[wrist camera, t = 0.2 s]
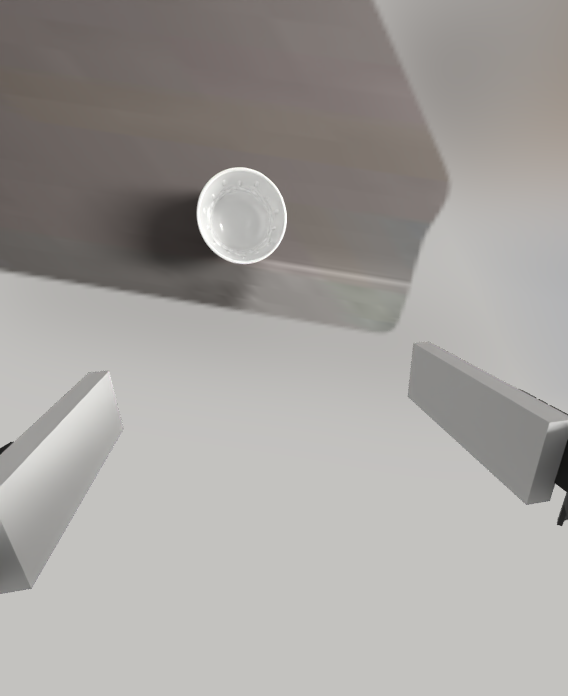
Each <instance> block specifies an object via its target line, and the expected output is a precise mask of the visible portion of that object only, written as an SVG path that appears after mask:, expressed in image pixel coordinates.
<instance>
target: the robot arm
mask: <svg viewBox="0 0 568 696" xmlns="http://www.w3.org/2000/svg"><path fill="white" fill-rule="evenodd" d="M408 397H409V398H410V399H411V400H412V401H413V402H414V403H415V404H416V405H418V406H419V407H420V408H421V409H422V410H423V411H424V412H425V413H426V414H427V415H429V417H431V418H432V419H433V420H434V421H435V422H436V423H437V424H438V425H439V426H440V427H442V428H443V429H444V430H445V431H446V432H447V433H448V434H449V435H450V436H452V437H453V438H454V439H455V440H456V441H457V442H458V443H459V444H460V445H461V446H462V447H464V448H465V449H466V450H467V451H468V452H469V453H470V454H471V455H472V456H473V457H474V458H476V459H477V460H478V461H479V462H480V463H481V464H482V465H483V466H484V467H485V468H487V469H488V470H489V471H490V472H491V473H492V474H493V475H494V476H495V477H497V478H498V479H499V480H500V481H501V482H502V483H503V484H504V485H505V486H506V487H507V488H509V489H510V490H511V491H512V492H513V493H514V494H515V495H516V496H517V497H518V498H519V499H521V500H522V501H523V502H524V503H525V504H526V505H528V504H534V503H540V502H546V501H550V498H551V495H552V492H553V489H554V485H555V483H556V484H557V485H558V486H560V487H561V488H562V489H563V490H565V491H566V492H567V493H566V496H565V499H564V502H563V505H562V508H561V511H560V514H559V517H558V522H557V525H560V526H562V525H563V522H564V521H565V520H567V519H568V414H566V413H565V412H562V411H561V410H559V409H557V408H555V407H553V406H551V405H548V404H547V403H546V402H544V401H542V400H540V399H536V397H534V396H532V395H530V394H528V393H527V392H525V391H523V390H520V389H517V388H515V387H513V386H512V385H510V384H508V383H506V382H504V381H502V380H500V379H498V378H496V377H495V376H493V375H491V374H489V373H487V372H485V371H483V370H481V369H480V368H478V367H476V366H474V365H472V364H470V363H468V362H466V361H465V360H463V359H461V358H459V357H457V356H455V355H453V354H451V353H449V352H448V351H446V350H444V349H442V348H440V347H438V346H436V345H434V344H432V343H431V342H419V343H414V344H413V351H412V361H411V371H410V380H409V390H408ZM122 431H123V425H122V421H121V417H120V413H119V409H118V405H117V401H116V397H115V393H114V388H113V385H112V380H111V376H110V372H109V371H101V372H90V373H88V374H87V375H86V376H85V377H84V378H83V379H82V380H81V381H79V382H78V383H77V384H76V385H75V386H74V387H73V388H72V389H71V390H70V391H68V392H67V393H66V394H65V395H64V396H63V397H62V398H61V399H60V400H59V401H58V402H57V403H56V404H55V405H54V406H52V407H51V408H50V409H49V410H48V411H47V412H46V413H45V414H44V415H43V416H42V417H41V418H39V419H38V420H37V421H36V422H35V423H34V424H33V425H32V426H31V427H30V428H29V429H28V430H26V431H25V432H24V433H23V434H22V435H21V436H20V437H19V438H18V439H17V440H16V441H15V442H10V443H9V444H7V445H5V446H4V447H2V448H0V594H2V593H8V592H14V591H20V590H26V589H32V587H33V585H34V583H35V582H36V580H37V578H38V576H39V575H40V573H41V571H42V569H43V568H44V566H45V564H46V562H47V561H48V559H49V557H50V556H51V554H52V552H53V550H54V549H55V547H56V545H57V543H58V542H59V540H60V538H61V537H62V535H63V533H64V531H65V530H66V528H67V526H68V524H69V523H70V521H71V519H72V518H73V516H74V514H75V512H76V511H77V509H78V507H79V505H80V504H81V502H82V500H83V498H84V497H85V495H86V493H87V491H88V490H89V488H90V486H91V485H92V483H93V481H94V479H95V478H96V476H97V474H98V472H99V471H100V469H101V467H102V465H103V464H104V462H105V460H106V459H107V457H108V455H109V453H110V452H111V450H112V448H113V446H114V444H115V443H116V441H117V440H118V438H119V436H120V434H121V433H122Z"/></svg>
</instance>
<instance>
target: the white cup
mask: <svg viewBox="0 0 568 696" xmlns="http://www.w3.org/2000/svg"><path fill="white" fill-rule="evenodd" d="M286 221H287V215H286V208H285V204H284V200H283V198H282V196H281V194H280V192H279V190H278V189H277V187H276V186H275V185H274V183H273V182H272V181H271V180H270V179H268V178H267V177H266V176H265V175H263V174H261V173H260V172H258V171H255V170H252V169H249V168H242V167H236V168H230V169H226V170H224V171H221V172H219V173H218V174H216V175H215V176H213V177H212V178H211V179H210V180H209V181H208V182H207V184H206V185H205V186H204V188H203V190H202V192H201V194H200V196H199V199H198V204H197V223H198V227H199V230H200V233H201V235H202V237H203V239H204V241H205V242H206V244H207V245H208V246H209V248H210V249H211V250H212V251H213V252H214V253H216V254H217V255H218V256H220V257H221V258H223V259H225V260H227V261H230V262H233V263H238V264H250V263H255V262H258V261H260V260H262V259H264V258H266V257H268V256H269V255H270V254H271V253H272V252H273V251H274V250H275V249H276V248H277V247H278V245H279V244H280V242H281V240H282V238H283V236H284V233H285V229H286Z"/></svg>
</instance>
